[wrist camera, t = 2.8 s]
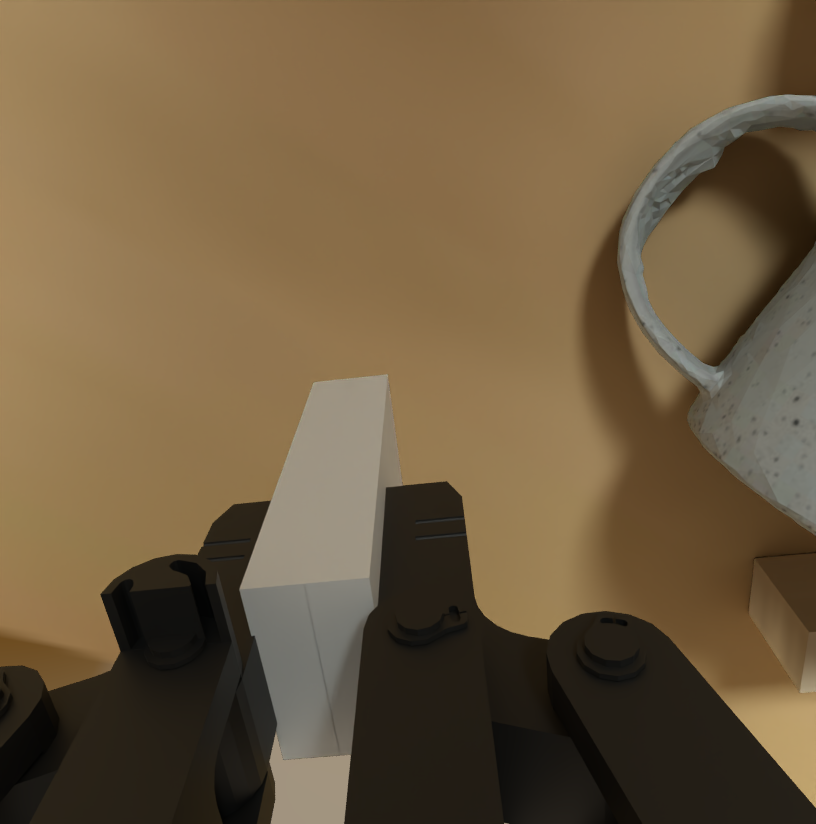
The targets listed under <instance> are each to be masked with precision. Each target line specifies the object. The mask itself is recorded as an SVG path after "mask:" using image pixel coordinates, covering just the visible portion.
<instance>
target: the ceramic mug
mask: <svg viewBox="0 0 816 824" xmlns="http://www.w3.org/2000/svg"><path fill="white" fill-rule="evenodd" d="M774 127H789V128H795V129H797V130H800V131H801V130H812V131H816V96H808V95H778V96H769V97H765V98H761V99H757V100H754V101H750V102H747V103H744V104H740V105H737V106H733V107H730V108H727V109H725V110H723V111H722V112H720V113H718V114H716V115H714V116H712V117H710V118H708V119H706V120H705V121H703V122H701V123H700V124H698V125H696V126H694V127H693V128H691V129H690V130H689V131H688V132H687V133H686V134H685V135H684V136H682V137H681V138H680V139H679V140H678V141H677V142H675V143H674V144H673V146H672V147H671V148H670V149H669V150H668V152H667V153H666V154H665V155H664V156H663V157H662V158H661V159H660V160H659V161H658V162H657V163H656V164H655V165H654V166H653V168H652V169H651V171H650V172H649V173H648V175H647V176H646V178H645V179H644V181H643V182H642V183H641V185H640V186H639V188H638V189H637V191H636V192H635V194H634V196H633V198H632V200H631V202H630V204H629V207H628V209H627V211H626V213H625V215H624V217H623V219H622V224H621V228H620V231H619V241H618V258H617V265H618V269H619V274H620V279H621V284H622V289H623V293H624V296H625V299H626V302H627V304H628V307H629V309H630V311H631V313H632V315H633V317H634V319H635V321H636V322H637V324H638V326H639V327H640V329H641V331H642V333H643V334H644V335H645V337H646V338H647V339H648V340H649V342H650V343H651V344H652V345H653V347H654V348H655V349H656V350H657V352H658V353H659V354H660V355H661V356H662V357H663V358H665V359H666V360H667V361H668V362H669V363H670V364H671V365H672V366H673V367H674V368H675V369H676V370H677V371H678V372H680V373H681V374H682V375H683V376H684V377H685V378H687V379H688V380H689V381H691V382H692V383H693V384H694V385H696V386H697V387H698V389H699V391H700V393H699V394H698V396H697V398H696V399H695V401H694V403H693V404H692V405H691V407H690V410H689V412H688V417H687V421H688V424H689V426H690V428H691V430H692V431H693V433H694V434H695V436H696V437H697V438H698V440H699V441H700V443H701V444H702V446H703V447H704V448H705V449H706V450H707V451H708V452H709V453H710V454H711V455H712V456H713V457H714V458H715V459H716V460H718V461H719V462H720V463H721V464H722V465H723V466H724V467H725V468H726V469H727V470H728V471H729V472H730V473H731V474H732V475H734V476H735V477H736V478H737V479H739V480H740V481H741V482H742V483H744V484H745V485H746V486H748V487H749V488H750V489H752V490H753V491H754V492H756V493H757V494H758V495H760V496H761V497H762V498H764V499H765V500H766V501H768V502H769V503H770V504H771V505H772V506H774V507H775V508H776V509H778V510H779V511H781V512H782V513H784V514H786V515H787V516H789V517H790V518H792V519H793V520H794V521H795V522H796V523H797V524H799V525H800V526H802V527H803V528H805V529H806V530H808V531H809V532H811V533H812V534H814V535H815V536H816V241H815V245H814V247H813V248H812V250H811V251H810V252H809V253H808V254H807V256H806V257H805V258H804V259H803V261H802V262H801V264H800V265H799V267H798V268H797V269H796V270H795V271H794V272H793V273H792V275H791V276H790V278H789V279H788V280H787V281H786V282H785V283H784V284H783V285H782V287H781V288H780V290H779V291H778V293H777V294H776V295H775V296H774V297H773V299H772V300H771V301H770V302H769V303H768V304H767V306H766V307H765V308H764V309H763V311H762V312H761V313H760V314H759V315H758V317H757V318H756V319H755V321H754V322H753V324H752V325H751V326H750V327H749V328H748V330H747V331H746V333H745V334H744V335H742V336H741V337H740V338H739V340H738V342H737V344H736V345H735V346H734V347H733V349H732V350H731V352H730V353H729V354H728V355H727V357H726V358H725V359H724V360H723V361H722V362H721V363H720V365H719V366H715V367H712V366H709V365H707V364H704V363H702V362H701V361H700V360H699V359H698V358H696V357H695V356H694V355H693V354H692V353H690V352H689V351H688V350H687V349H686V348H685V347H684V346H683V345H682V344H681V343H680V342H679V341H678V340H677V339H676V338H675V337H674V336H673V335H672V334H671V333H670V332H669V331H668V329H667V328H666V327H665V326H664V325H663V323H662V322H661V321H660V319H659V318H658V317H657V315H656V314H655V312H654V310H653V308H652V306H651V304H650V302H649V299H648V293H647V288H646V285H645V281H644V278H643V275H642V274H643V270H644V266H643V263H642V260H641V252H642V249H643V246H644V244H645V242H646V240H647V237H648V236H649V235H650V233H651V232H652V231H653V229H654V228H655V227H656V225H657V224H658V222H659V221H660V220H661V218H662V217H663V215H664V214H665V213H666V211H667V210H668V208H669V207H670V206H671V205H672V203H673V202H674V201H675V200H676V198H677V197H678V196H679V195H680V194H681V192H682V191H683V190H684V189H685V188H686V187H687V186H688V185H689V184H690V183H691V182H692V181H693V180H694V179H695V178H696V177H697V176H698V175H699V174H700V173H702V172H704V171H707V170H710V169H712V168H714V167H715V166H716V164H717V162H718V161H719V159H720V158H721V156H722V154H723V150H724V147H725V146H727V145H729V144H731V143H732V142H733V141H735V140H736V139H738V138H739V137H740V136H742V135H743V134H744V133H746V132H752V131H759V130H765V129H770V128H774Z"/></svg>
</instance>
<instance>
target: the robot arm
mask: <svg viewBox="0 0 816 824" xmlns="http://www.w3.org/2000/svg"><path fill="white" fill-rule="evenodd" d="M100 595H101V598H102V600H103V603H104V606H105V609H106V612H107V614H108V617H109V620H110V623H111V626H112V628H113V631H114V634H115V637H116V640H117V642H118V645H119V648H120V651H121V652H120V654H119V656H118V658H117V660H116V661H115V663H114V665H113V667H112V669H111V671H108V672H106V673H104V674H101V675H98V676H96V677H92V678H89V679H86V680H83V681H80V682H76V683H73V684H70V685H67V686H64V687H61V688H58V689H54V690H51V691H48V690H47V688H46V685H45V683H44V681H43V679H42V678H41V676H40V675H39V673H38V671H37V670H34V669H31V668H28V667H25V666H5V667H0V824H270V823H271V818H272V813H273V808H274V803H275V781H274V778H273V774H272V770H271V767H270V763H269V760H270V755H271V750H272V746H273V742H274V737H275V733H277V737H278V741H279V745H280V749H281V753H282V756H283V760H289V759H301V758H314V757H327V756H340V755H351V761H350V772H349V781H348V792H347V802H346V812H345V822H344V824H504V823H509V824H816V808H815V807H814V806H813V804H812V803H811V802H810V801H809V800H808V799H807V797H806V796H805V795H804V794H803V793H802V792H801V790H800V789H799V788H798V787H797V786H796V785H795V783H794V782H793V781H792V780H791V779H790V778H789V776H788V775H787V774H786V773H785V772H784V771H783V769H782V768H781V767H780V766H779V765H778V764H777V763H776V761H775V760H774V759H773V758H772V757H771V756H770V754H769V753H768V752H767V751H766V750H765V749H764V747H763V746H762V745H761V744H760V743H759V742H758V740H757V739H756V738H755V737H754V736H753V735H752V733H751V732H750V731H749V730H748V729H747V728H746V727H745V725H744V724H743V723H742V722H741V721H740V720H739V718H738V717H737V716H736V715H735V714H734V713H733V711H732V710H731V709H730V708H729V707H728V706H727V704H726V703H725V702H724V701H723V700H722V699H721V697H720V696H719V695H718V694H717V693H716V692H715V691H714V689H713V688H712V687H711V686H710V685H709V684H708V682H707V681H706V680H705V679H704V678H703V677H702V675H701V674H700V673H699V672H698V671H697V670H696V668H695V667H694V666H693V665H692V664H691V663H690V661H689V660H688V659H687V658H686V657H685V656H684V654H683V653H682V652H681V651H680V650H679V649H678V648H677V646H676V645H675V644H674V643H673V642H672V641H671V639H670V638H669V637H667V636H666V635H665V634H664V633H663V632H661V631H660V630H659V629H658V628H656V627H655V626H654V625H653V624H651V623H649V622H646V621H644V620H642V619H639V618H637V617H634V616H632V615H629V614H622V613H615V612H608V611H602V612H593V613H585V614H581V615H578V616H576V617H574V618H572V619H569V620H567V621H565V622H563V623H562V624H561V625H560V626H559V627H558V628H557V629H556V630H555V631H554V632H553V633H552V634H551V635H550V639H549V640H547V639H541V638H535V637H528V636H524V635H520V634H516V633H512V632H510V631H508V630H505V629H503V628H501V627H499V626H497V625H495V624H494V623H493V622H491V621H490V620H489V619H487V618H486V617H485V616H484V614H483V613H482V612H481V610H480V609H479V608H478V606H477V603H476V600H475V597H474V589H473V581H472V574H471V566H470V558H469V550H468V542H467V535H466V526H465V519H464V510H463V503H462V496H461V495H460V494H459V493H458V492H457V491H456V490H455V489H454V488H453V487H452V486H451V485H450V484H449V483H448V482H447V481H446V482H436V483H426V484H415V485H405V486H403V483H402V476H401V468H400V461H399V454H398V446H397V439H396V431H395V424H394V416H393V409H392V402H391V394H390V387H389V379H388V374H386V375H376V376H367V377H357V378H348V379H338V380H329V381H320V382H314V383H313V385H312V388H311V391H310V394H309V396H308V399H307V402H306V405H305V408H304V410H303V413H302V416H301V419H300V422H299V424H298V427H297V430H296V433H295V436H294V438H293V441H292V444H291V447H290V450H289V452H288V455H287V458H286V461H285V463H284V466H283V469H282V472H281V475H280V477H279V480H278V483H277V486H276V489H275V491H274V494H273V497H272V500H271V501H264V502H254V503H243V504H234V505H232V506H231V507H230V508H229V509H228V510H227V511H226V512H225V513H223V514H222V515H221V516H220V517H219V518H218V519H217V520H216V521H215V522H213V524H212V526H211V528H210V530H209V532H208V534H207V537H206V539H205V541H204V547H201V549H200V551H199V553H198V555H186V554H175V555H170V556H165V557H160V558H155V559H152V560H150V561H147V562H145V563H142V564H140V565H137V566H135V567H133V568H131V569H129V570H128V571H126V572H125V573H123V574H122V575H120V576H119V577H117V578H116V579H114V580H113V581H112V582H111V583H110V584H109V585H108V587H107V588H106V589H105V590H104V591H103V592H102V593H101V594H100Z"/></svg>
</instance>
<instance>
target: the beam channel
mask: <svg viewBox="0 0 816 824" xmlns="http://www.w3.org/2000/svg"><path fill="white" fill-rule="evenodd" d="M749 615H750V617H751V619H752V620H753V622H754V623H755V625H756V626H757V628H758V629H759V631H760V632H761V634H762V636H763V637H764V639H765V640H766V642H767V643H768V645H769V646H770V648H771V649H772V651H773V653H774V654H775V656H776V657H777V659H778V660H779V662H780V663H781V665H782V666H783V668H784V670H785V671H786V673H787V674H788V676H789V677H790V679H791V680H792V682H793V683H794V685H795V687H796V688H797V690H798V691H799V693H807V692H816V553H810V554H798V555H787V556H775V557H764V558H755V559H754V568H753V577H752V586H751V596H750V605H749Z"/></svg>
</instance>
